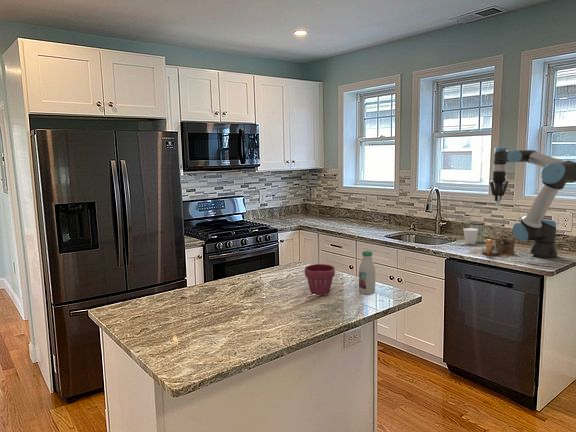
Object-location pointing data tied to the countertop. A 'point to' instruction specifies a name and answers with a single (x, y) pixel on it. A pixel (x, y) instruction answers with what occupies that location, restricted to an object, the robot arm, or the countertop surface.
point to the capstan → (490, 248)
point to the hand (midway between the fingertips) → (497, 205)
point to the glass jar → (480, 232)
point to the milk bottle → (367, 274)
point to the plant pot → (319, 278)
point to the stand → (502, 244)
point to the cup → (470, 235)
